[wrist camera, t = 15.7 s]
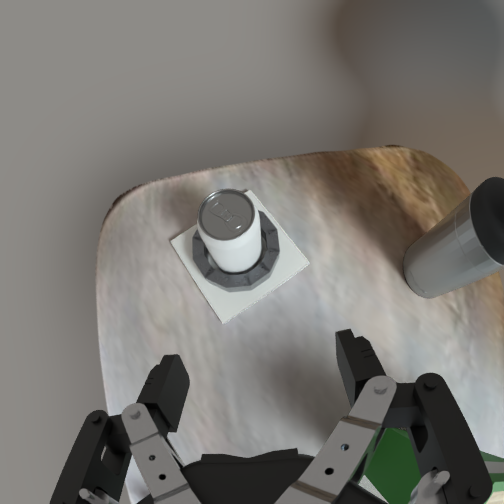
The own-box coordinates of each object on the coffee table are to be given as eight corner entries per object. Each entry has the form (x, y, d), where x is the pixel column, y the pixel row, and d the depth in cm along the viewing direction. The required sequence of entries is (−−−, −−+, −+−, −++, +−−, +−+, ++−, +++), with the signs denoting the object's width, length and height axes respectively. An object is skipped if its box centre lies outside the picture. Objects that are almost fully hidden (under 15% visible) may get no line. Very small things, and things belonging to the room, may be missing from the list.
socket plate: (250, 192, 42) (250, 189, 41) (308, 264, 38) (309, 262, 37) (172, 243, 40) (170, 241, 39) (224, 324, 36) (222, 323, 35)
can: (239, 286, 37) (227, 258, 25) (204, 255, 38) (180, 218, 27) (271, 250, 38) (273, 209, 27) (235, 222, 40) (224, 174, 28)
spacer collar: (247, 201, 41) (246, 191, 38) (294, 260, 37) (296, 253, 35) (183, 243, 39) (177, 235, 36) (226, 308, 36) (222, 304, 33)
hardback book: (459, 443, 27) (559, 472, 4) (438, 480, 25) (525, 528, 2) (383, 424, 30) (494, 482, 7) (358, 467, 28) (438, 556, 5)
